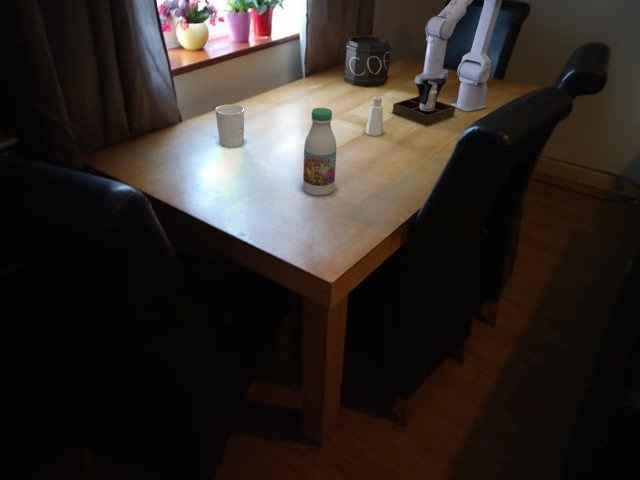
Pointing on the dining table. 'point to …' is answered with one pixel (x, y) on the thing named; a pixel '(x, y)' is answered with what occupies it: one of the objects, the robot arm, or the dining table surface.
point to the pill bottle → (430, 99)
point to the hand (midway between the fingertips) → (427, 102)
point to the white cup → (230, 125)
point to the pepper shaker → (375, 118)
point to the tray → (414, 113)
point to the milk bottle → (320, 154)
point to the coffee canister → (367, 61)
